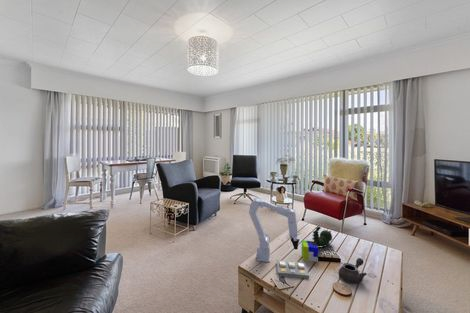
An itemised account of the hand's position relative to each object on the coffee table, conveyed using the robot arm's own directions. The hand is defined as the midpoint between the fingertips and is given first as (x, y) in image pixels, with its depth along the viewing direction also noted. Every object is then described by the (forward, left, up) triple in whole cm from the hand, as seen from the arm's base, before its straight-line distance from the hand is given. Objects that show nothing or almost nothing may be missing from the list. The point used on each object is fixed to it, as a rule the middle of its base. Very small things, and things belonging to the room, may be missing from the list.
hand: (295, 246), depth 144 cm
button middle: (-3, -7, -11) cm, 13 cm away
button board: (-3, -8, -12) cm, 15 cm away
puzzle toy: (+12, +11, -13) cm, 21 cm away
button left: (-9, -7, -11) cm, 15 cm away
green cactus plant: (+27, +31, -13) cm, 43 cm away
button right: (+3, -7, -11) cm, 13 cm away
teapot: (+35, -9, -13) cm, 38 cm away
